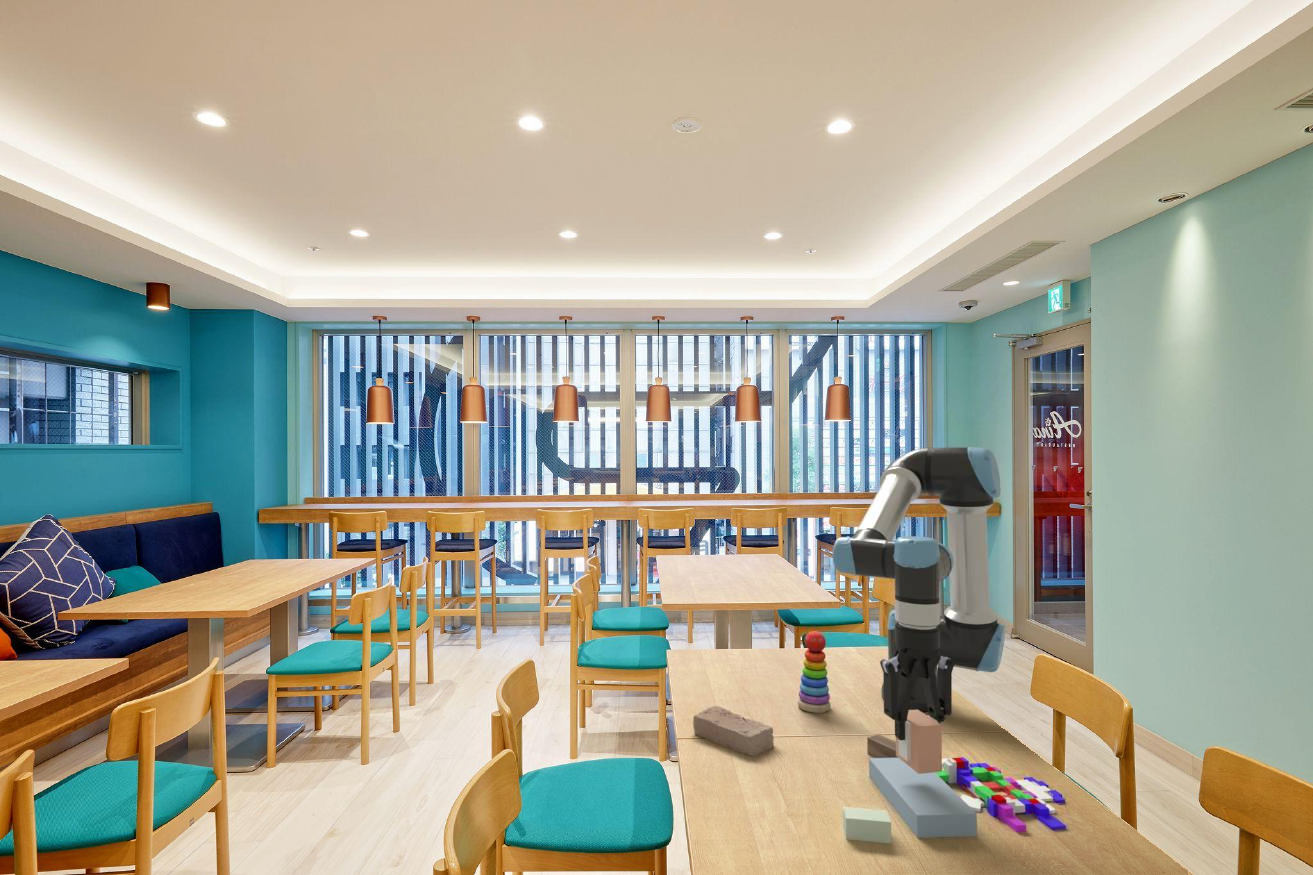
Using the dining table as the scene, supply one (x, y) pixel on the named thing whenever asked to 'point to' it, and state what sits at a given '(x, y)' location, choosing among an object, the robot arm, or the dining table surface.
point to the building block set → (1005, 804)
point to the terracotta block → (924, 743)
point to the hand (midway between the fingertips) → (918, 755)
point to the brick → (733, 731)
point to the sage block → (867, 824)
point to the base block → (922, 800)
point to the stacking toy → (814, 676)
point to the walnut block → (881, 747)
